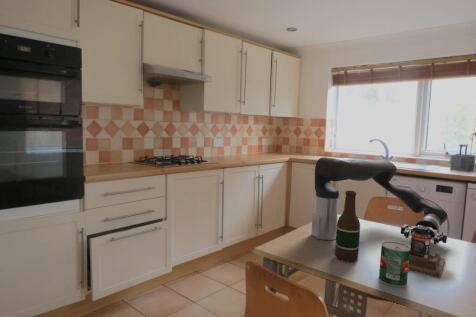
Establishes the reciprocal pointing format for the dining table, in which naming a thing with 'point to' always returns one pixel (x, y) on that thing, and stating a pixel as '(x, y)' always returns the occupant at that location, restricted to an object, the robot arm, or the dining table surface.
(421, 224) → the robot arm
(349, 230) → the beer bottle
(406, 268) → the canned tomato
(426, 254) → the supplement bottle
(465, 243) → the dining table surface
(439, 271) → the walnut dock
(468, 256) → the dining table surface
